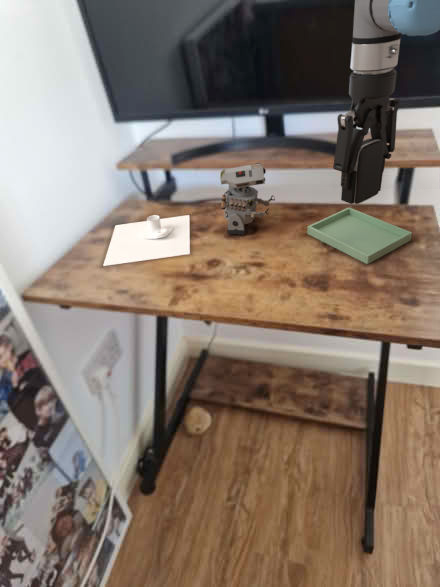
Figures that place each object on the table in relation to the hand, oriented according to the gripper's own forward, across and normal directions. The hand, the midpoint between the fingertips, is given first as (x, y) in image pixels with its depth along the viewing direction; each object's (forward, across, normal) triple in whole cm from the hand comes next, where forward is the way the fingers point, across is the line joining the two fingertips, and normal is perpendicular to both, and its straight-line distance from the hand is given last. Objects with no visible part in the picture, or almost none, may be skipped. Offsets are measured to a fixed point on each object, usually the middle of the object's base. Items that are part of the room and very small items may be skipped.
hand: (360, 195), depth 83 cm
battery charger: (+1, 0, 0) cm, 1 cm away
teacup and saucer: (+10, -35, +34) cm, 50 cm away
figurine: (+10, -14, +21) cm, 27 cm away
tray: (+10, 0, 0) cm, 10 cm away
